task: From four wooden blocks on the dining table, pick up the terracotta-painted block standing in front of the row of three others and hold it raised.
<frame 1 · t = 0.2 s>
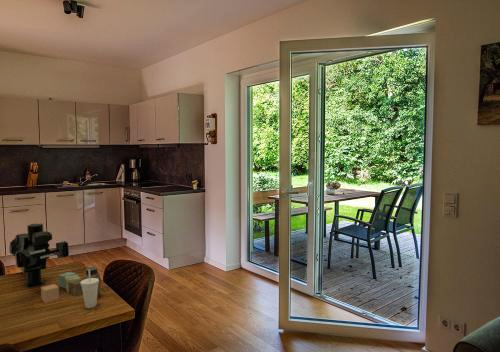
hand: (49, 258, 143), 16 cm above the table, tool horizontal, fingers open, 9 cm apart
supplement bottle: (92, 296, 147), on the table
slate block: (68, 285, 160), on the table, touching maple block
smoothie: (90, 306, 138), on the table
terracotta block: (50, 299, 145), on the table
maple block: (73, 289, 155), on the table, touching slate block
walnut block: (78, 293, 151), on the table
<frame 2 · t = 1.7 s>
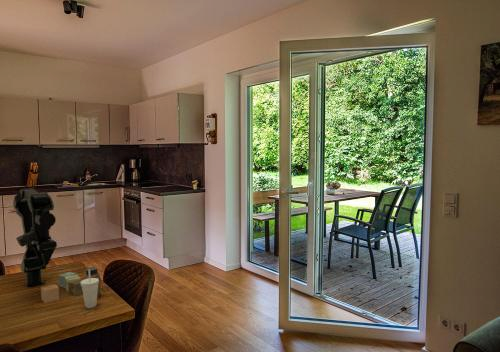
hand: (43, 262, 149), 13 cm above the table, tool pointing down, fingers open, 9 cm apart
slate block: (68, 285, 160), on the table
maple block: (73, 289, 155), on the table
everything else where it was.
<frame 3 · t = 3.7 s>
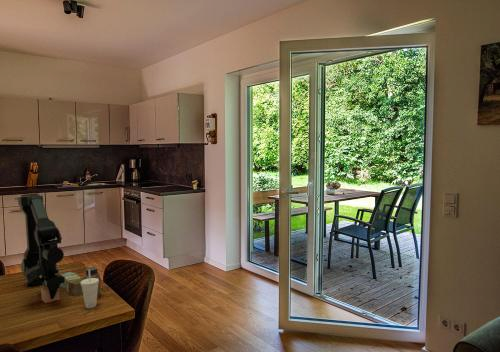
hand: (50, 296, 145), 1 cm above the table, tool pointing down, fingers closed on terracotta block, 5 cm apart
terracotta block: (50, 299, 145), on the table, touching gripper
everything else where it was.
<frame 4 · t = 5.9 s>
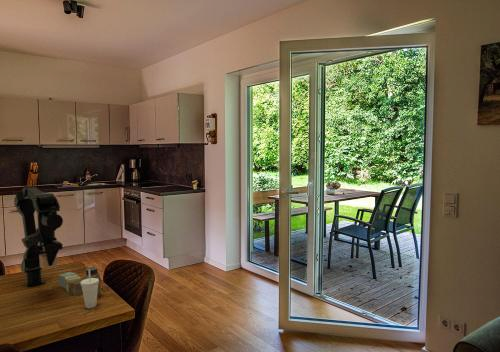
hand: (48, 264, 147), 13 cm above the table, tool pointing down, fingers closed on terracotta block, 5 cm apart
terracotta block: (48, 266, 147), point 12 cm above the table, touching gripper
everything else where it was.
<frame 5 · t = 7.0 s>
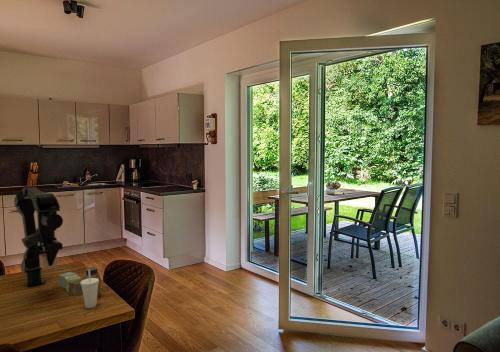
hand: (48, 264, 147), 13 cm above the table, tool pointing down, fingers closed on terracotta block, 5 cm apart
terracotta block: (48, 266, 147), point 12 cm above the table, touching gripper
everything else where it was.
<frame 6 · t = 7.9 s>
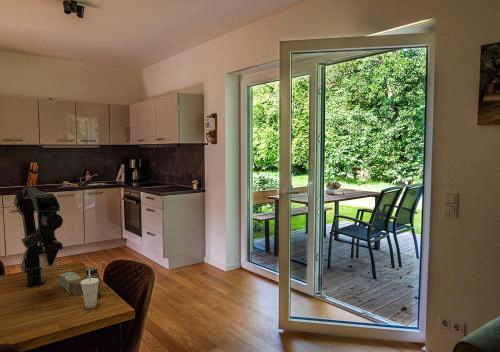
hand: (48, 264, 147), 13 cm above the table, tool pointing down, fingers closed on terracotta block, 5 cm apart
terracotta block: (48, 266, 147), point 12 cm above the table, touching gripper
everything else where it was.
at the end: the gripper is holding terracotta block; terracotta block point 11.9 cm above the table; maple block moved 0.2 cm from its start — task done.
